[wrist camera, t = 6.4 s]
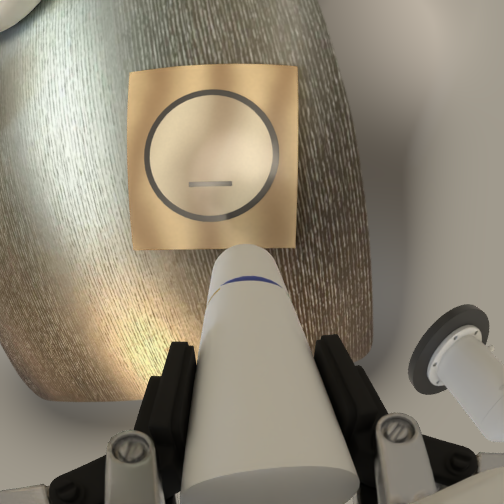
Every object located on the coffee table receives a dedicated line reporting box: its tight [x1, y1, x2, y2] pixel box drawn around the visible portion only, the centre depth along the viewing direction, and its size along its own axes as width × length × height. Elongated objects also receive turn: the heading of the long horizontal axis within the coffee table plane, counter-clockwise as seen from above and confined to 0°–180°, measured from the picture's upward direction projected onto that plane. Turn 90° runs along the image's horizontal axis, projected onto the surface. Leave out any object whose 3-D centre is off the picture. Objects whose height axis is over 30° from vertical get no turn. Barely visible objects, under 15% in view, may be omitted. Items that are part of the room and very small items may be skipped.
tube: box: [180, 244, 360, 504], centre depth 12 cm, size 4×4×15 cm
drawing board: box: [127, 64, 298, 250], centre depth 29 cm, size 18×20×2 cm
